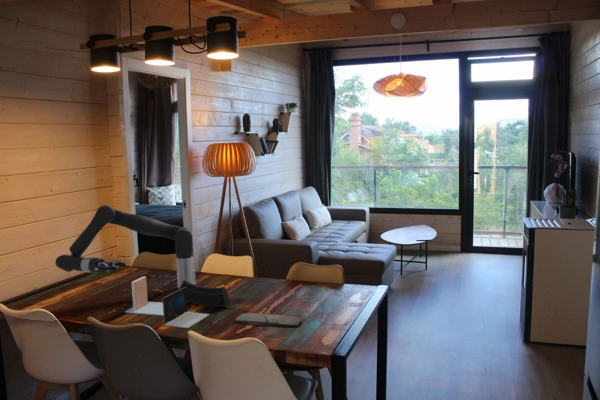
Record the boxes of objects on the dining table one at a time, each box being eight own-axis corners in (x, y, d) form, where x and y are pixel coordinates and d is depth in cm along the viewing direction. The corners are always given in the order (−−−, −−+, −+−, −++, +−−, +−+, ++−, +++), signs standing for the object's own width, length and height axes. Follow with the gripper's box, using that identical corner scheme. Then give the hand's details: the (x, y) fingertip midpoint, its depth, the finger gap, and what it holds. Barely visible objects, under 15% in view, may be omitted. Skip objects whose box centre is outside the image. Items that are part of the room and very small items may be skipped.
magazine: (234, 289, 255) (186, 267, 267) (230, 291, 252) (181, 268, 264) (227, 321, 260) (180, 297, 271) (223, 323, 257) (176, 299, 268)
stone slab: (297, 324, 226) (233, 316, 235) (297, 331, 226) (233, 323, 236) (304, 316, 236) (243, 309, 245) (304, 323, 236) (243, 316, 245)
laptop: (187, 329, 231) (186, 300, 229) (164, 326, 235) (162, 298, 234) (209, 315, 247) (208, 288, 246) (187, 313, 252) (185, 286, 250)
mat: (124, 312, 254) (124, 311, 254) (144, 302, 269) (144, 301, 269) (163, 315, 248) (162, 314, 248) (180, 304, 263) (180, 304, 263)
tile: (133, 310, 256) (131, 282, 254) (145, 303, 266) (143, 276, 264) (136, 310, 256) (134, 282, 254) (148, 303, 265) (146, 276, 263)
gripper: (82, 261, 259) (111, 262, 254) (101, 254, 272) (129, 256, 267) (83, 276, 260) (112, 278, 255) (102, 268, 273) (130, 270, 268)
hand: (120, 266), depth 261 cm, fingers open, 7 cm apart
